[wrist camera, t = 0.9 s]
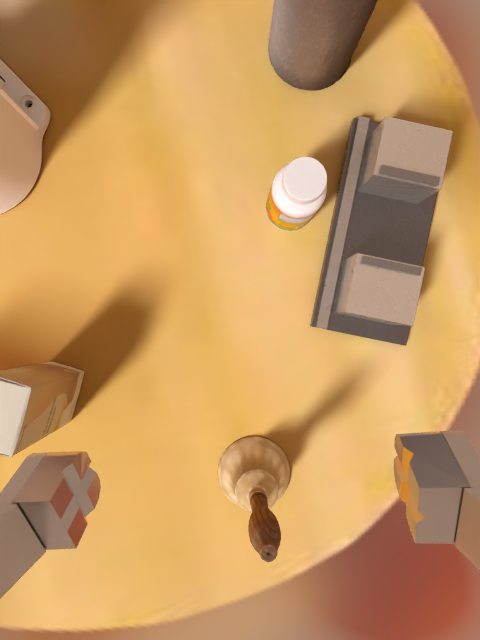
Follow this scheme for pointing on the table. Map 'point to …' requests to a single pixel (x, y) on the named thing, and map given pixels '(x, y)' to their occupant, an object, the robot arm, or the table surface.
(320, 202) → the supplement bottle
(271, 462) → the hand bell
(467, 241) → the table surface
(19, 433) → the skincare box
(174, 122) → the table surface
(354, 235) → the rail plate
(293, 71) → the pillar candle
